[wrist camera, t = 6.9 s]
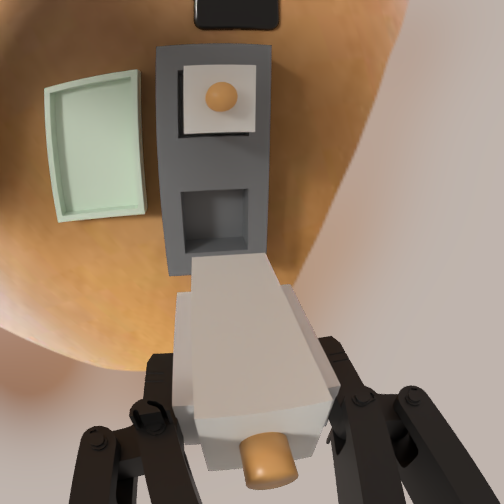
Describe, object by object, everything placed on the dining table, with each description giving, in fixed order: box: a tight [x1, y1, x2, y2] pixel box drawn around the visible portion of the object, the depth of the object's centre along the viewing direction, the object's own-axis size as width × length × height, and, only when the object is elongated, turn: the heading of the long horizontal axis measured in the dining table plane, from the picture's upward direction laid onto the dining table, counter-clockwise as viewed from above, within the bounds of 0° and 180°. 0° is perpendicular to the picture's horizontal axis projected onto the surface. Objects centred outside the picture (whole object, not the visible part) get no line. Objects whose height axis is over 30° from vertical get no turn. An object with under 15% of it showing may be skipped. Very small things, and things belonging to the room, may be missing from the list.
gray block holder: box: [156, 43, 272, 276], centre depth 22 cm, size 9×20×12 cm, turn 179°
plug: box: [191, 253, 333, 490], centre depth 12 cm, size 4×4×12 cm
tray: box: [44, 69, 148, 222], centre depth 24 cm, size 9×13×2 cm
